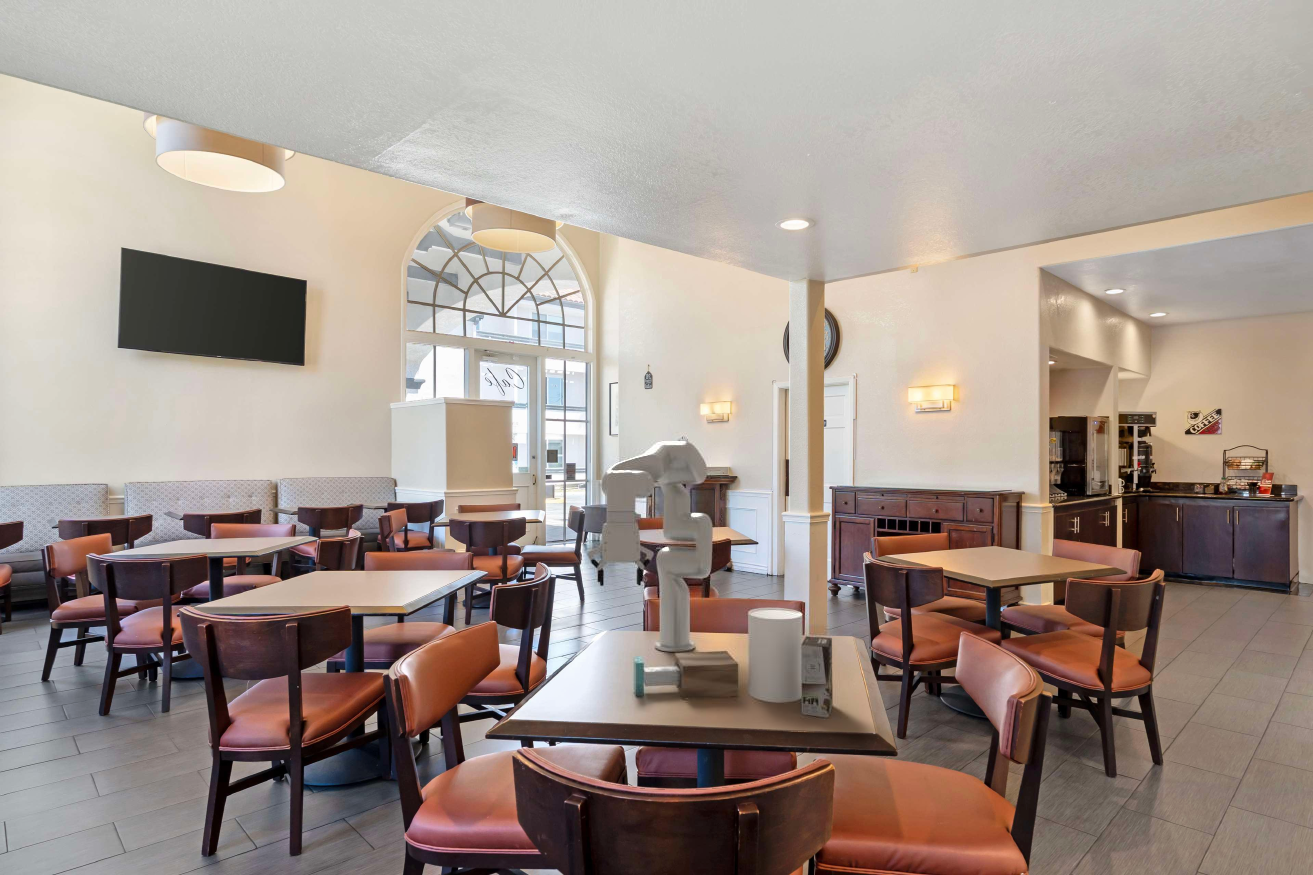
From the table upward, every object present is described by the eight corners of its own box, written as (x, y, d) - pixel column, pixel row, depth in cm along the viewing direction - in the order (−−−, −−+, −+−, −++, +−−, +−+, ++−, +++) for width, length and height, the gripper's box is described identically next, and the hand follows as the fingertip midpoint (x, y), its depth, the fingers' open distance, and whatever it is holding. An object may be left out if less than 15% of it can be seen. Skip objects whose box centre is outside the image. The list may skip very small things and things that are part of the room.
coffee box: (829, 718, 156) (828, 646, 157) (800, 714, 158) (800, 644, 159) (833, 705, 165) (832, 637, 165) (806, 702, 167) (805, 634, 167)
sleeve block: (674, 683, 181) (674, 652, 181) (726, 681, 183) (726, 650, 183) (682, 698, 169) (682, 666, 169) (738, 696, 171) (738, 663, 171)
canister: (811, 700, 168) (810, 617, 169) (758, 703, 166) (757, 620, 166) (791, 683, 181) (790, 606, 182) (742, 686, 179) (741, 608, 180)
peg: (633, 688, 176) (633, 657, 176) (687, 686, 178) (687, 654, 178) (635, 695, 171) (635, 662, 171) (691, 692, 173) (691, 660, 173)
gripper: (651, 517, 184) (651, 582, 183) (586, 517, 181) (586, 583, 180) (655, 519, 176) (655, 586, 175) (588, 519, 174) (587, 587, 173)
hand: (620, 584), depth 178 cm, fingers open, 9 cm apart
